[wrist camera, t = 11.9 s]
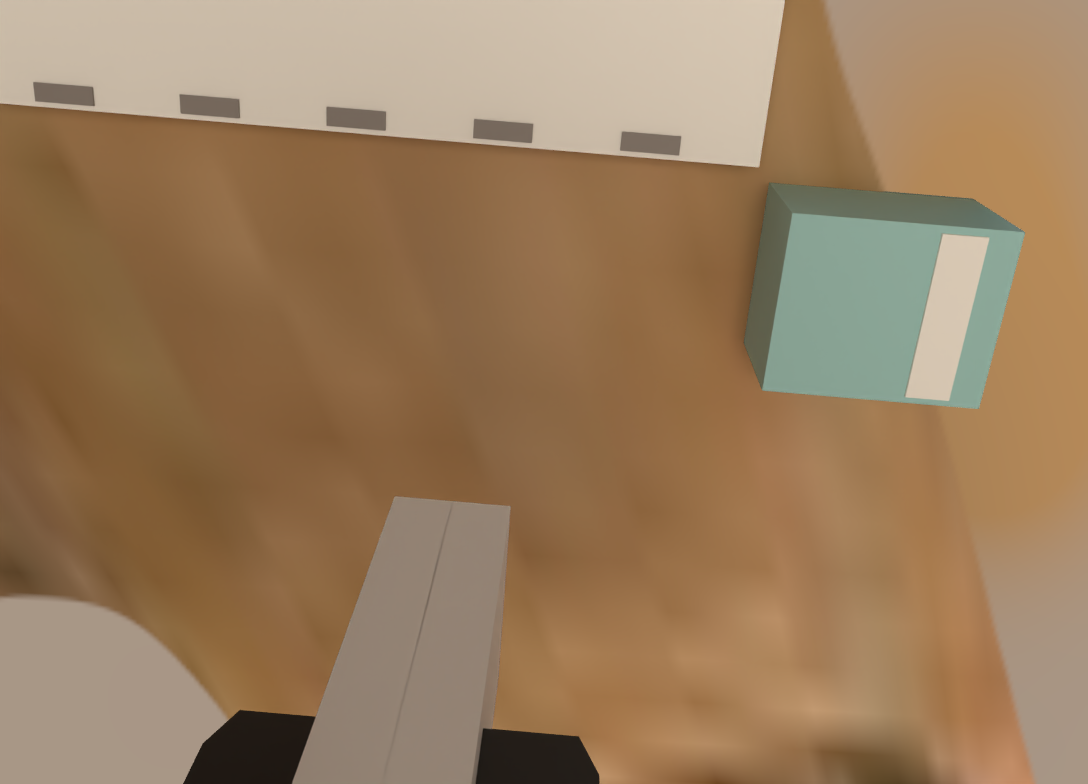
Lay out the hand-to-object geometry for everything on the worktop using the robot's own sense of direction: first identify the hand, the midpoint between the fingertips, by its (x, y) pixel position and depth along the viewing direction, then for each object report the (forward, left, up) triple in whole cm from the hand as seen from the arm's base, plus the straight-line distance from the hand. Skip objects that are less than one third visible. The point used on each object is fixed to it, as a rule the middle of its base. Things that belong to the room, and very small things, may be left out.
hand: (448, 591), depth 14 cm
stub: (+10, 0, -19) cm, 22 cm away
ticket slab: (-5, +7, -19) cm, 21 cm away
